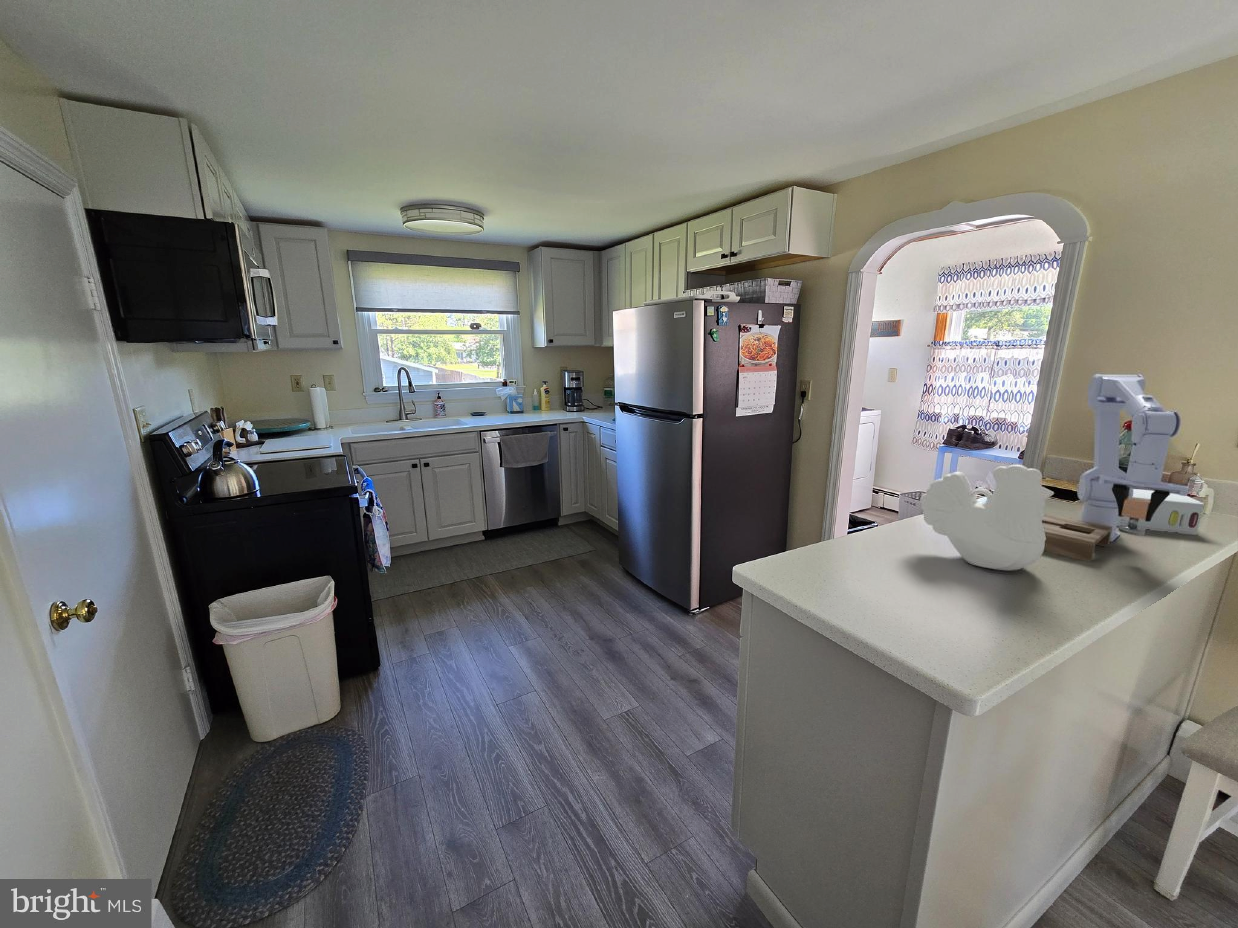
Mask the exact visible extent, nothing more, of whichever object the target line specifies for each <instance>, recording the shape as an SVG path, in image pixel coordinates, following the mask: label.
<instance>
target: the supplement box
mask: <svg viewBox="0 0 1238 928" xmlns="http://www.w3.org/2000/svg"><path fill="white" fill-rule="evenodd" d="M1153 492H1154V491H1151V490H1144V489H1138V488H1133V497H1134V498H1140V499H1147V500H1150V499H1151V493H1153ZM1204 507H1205V503H1203V502H1202V501H1199V500H1197V499H1194V498H1193V497H1190V496H1188V495H1186V496H1181V495H1179V494H1172V493H1170V495H1169V496H1168V497H1167V498H1166V499H1165V500H1164V501H1163V502H1162V503H1161V504H1160V506H1159V507H1158V508H1157V510H1156V511H1155V513H1154V515H1153V517H1152V519H1151V521H1150V522H1147V521H1145V520H1144V519H1139V522H1138V526H1137V527H1140V528H1143V529H1145V530H1146V529H1150V530H1149V531H1155V530H1156V531H1158V532H1164V531H1168V532H1167V533H1173V532H1178V533H1177V534H1185V535H1193V536H1195V535H1196V536H1197V534H1198V530H1199V526H1200V523H1201V519H1202V514H1203V510H1204ZM1129 518H1130V517H1127V516H1123V517H1120V516H1119V518H1118V523H1117V527H1119V526H1120V525H1128V523H1129Z"/></svg>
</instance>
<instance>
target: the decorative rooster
mask: <svg viewBox="0 0 1238 928" xmlns="http://www.w3.org/2000/svg"><path fill="white" fill-rule="evenodd" d="M992 477H993V480H994V482H995V483H996V484H995V487H994V490H993V492H991V491H990V490H989V489H987V488H983V487H978V488H975V489H973V488H972V487H971V484H970V481H969V479H968V478H967V476H966V475H965V473H964V472H962V471H953V472H952V473H951V472H950V473H946V474H945V475H944V476H943V478H937V479H935V480H934V481H932V482H931V483H930V486H929V487H928V488H927V489H926V491H925V492H926V493H923V494H922V496H921V497H920V499H919V500H920V501H919V502H920V503H921V504H920V509H921V510H922V515H923V520H924V522H925V523H926V524H927V525H929V526H932V529H933V531H934V532H935V533H937V534H939V535H941V536H947V538H948V540H949V541H950V543H951V545H952V546H953V548H954V549H955V550H956V551H957V552H958V554H959V555H960V556H961V557H962V558H963V559H964V560H965V562H967V563H969V564H970V565H973V566H977V567H980V568H981V567H982V568H986V569H993V570H1001V571H1017V570H1020V569H1023V568H1026V567H1028V566H1030V565H1032V564H1034V563H1035V562H1037V561H1038V560H1039V559H1040V558H1041V556H1042V555H1043V553H1044V552H1045V551H1044V546H1045V540H1046V537H1045V532H1044V528H1043V525H1042V520H1043V518H1044V514H1045V508H1046V500H1048V499H1050V497H1052V496H1053V495H1054V494H1055V492H1054V491H1052V490H1050V489H1048V488H1046V487H1045V486H1043V485H1042V480H1043V473H1042V472H1041V470H1039V469H1037V468H1028V467H1026V466H1025V465H1022V464H1010V465H1008V466H1003V465H999V466H996V468H994V470H993V471H992ZM980 494H981V495H984V496H985V497H986V501H984V502H981V501H978V499H977V495H980Z"/></svg>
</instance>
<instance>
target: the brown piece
mask: <svg viewBox="0 0 1238 928" xmlns="http://www.w3.org/2000/svg"><path fill="white" fill-rule="evenodd" d="M1149 505H1150V500H1147V499H1140V498H1134V497H1128V498H1126V499H1125V501H1124V506H1123V510H1122V516H1127V517H1130V518H1129V523H1128V525H1120V526H1118V531H1119V532H1122V533H1125V534H1129V535H1135V536H1144V535H1145V533H1146V529H1143V528H1140V527H1137V526H1138V522H1139V519H1144V520H1145V519H1146V515H1147V513H1148V510H1149Z"/></svg>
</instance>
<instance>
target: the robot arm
mask: <svg viewBox="0 0 1238 928" xmlns="http://www.w3.org/2000/svg"><path fill="white" fill-rule="evenodd" d="M1088 383H1089V384H1088V385H1087V399H1086V400H1087V407H1089V408H1091V409H1093V410H1094V441H1093V442H1094V443H1093V444H1094V445H1093V446H1094V447H1093V449H1094V451H1093V468H1091V469H1089V470H1086V471H1085V472H1083V473H1082V474H1080V477H1079V483H1078V485H1077V492H1076V493H1077V497H1078V499H1079V500H1080V501H1081V502H1082V503H1083V504H1082V510H1081V515H1080V519H1079V520H1080V521H1085V522H1090V523H1095V524H1100V525H1106V526H1111V527H1113V528H1112V533H1111V537H1110V542H1114V540H1115V539H1117V538H1118V537H1119V536H1120V535H1121V533H1120V532H1118V531H1117V527H1118V526H1117V523H1118V518H1119V516H1120V517H1123V516H1122V510H1123V506H1124V501H1125V499H1126V498H1128V497H1133V489H1141V490H1151V491H1154V492H1153V493H1151V499H1150V505H1149V510H1148V513H1147V515H1146V519H1145V521H1147V522H1150V521H1151V519H1152V517H1153V515H1154V513H1155V511H1156V510H1157V508H1158V507H1159V506H1160V504H1161V503H1162V502H1163V501H1164V500H1165V499H1166V498H1167V497H1168V496H1169V495H1170V493H1172V494H1179V495H1181V496H1188V492H1189V488H1190V486H1189V485H1188V486H1187V485H1181V484H1175V483H1169V482H1163V481H1161V480H1162V477H1163V473H1164V468H1165V463H1166V459H1167V455H1168V451H1169V446H1170V444H1171V438H1173V437H1175V436H1176V435H1177V434H1178V433H1179V430H1180V427H1181V416H1180V414H1179V412H1178V411H1176V410H1166V409H1165V408H1164V407H1163V406H1162V404H1161V403H1160V402H1159V401H1158V399H1156V398H1155V397H1154V396H1153V395H1152V394H1146V393H1145V388H1146V378H1145V377H1144V376H1143V375H1142V374H1140V373H1139V374H1138V373H1137V374H1100V373H1096V374H1094V375H1093V376H1092V377H1091V378H1090V380H1089V382H1088ZM1123 410H1124V411H1125V413H1126V415H1128V418H1129V419H1130V420H1131V421H1132V422H1131V426H1130V427H1131V428H1130V429H1131V440H1130V441H1131V442H1132V447H1131V451H1130V452H1131V453H1130V456H1129V462H1128V464H1127V471H1126V472H1125V471H1124V470H1122V469H1120V468H1119V467H1120V466H1119V463H1120V418H1121V417H1120V416H1121V414H1120V413H1121V412H1122V411H1123Z"/></svg>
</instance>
